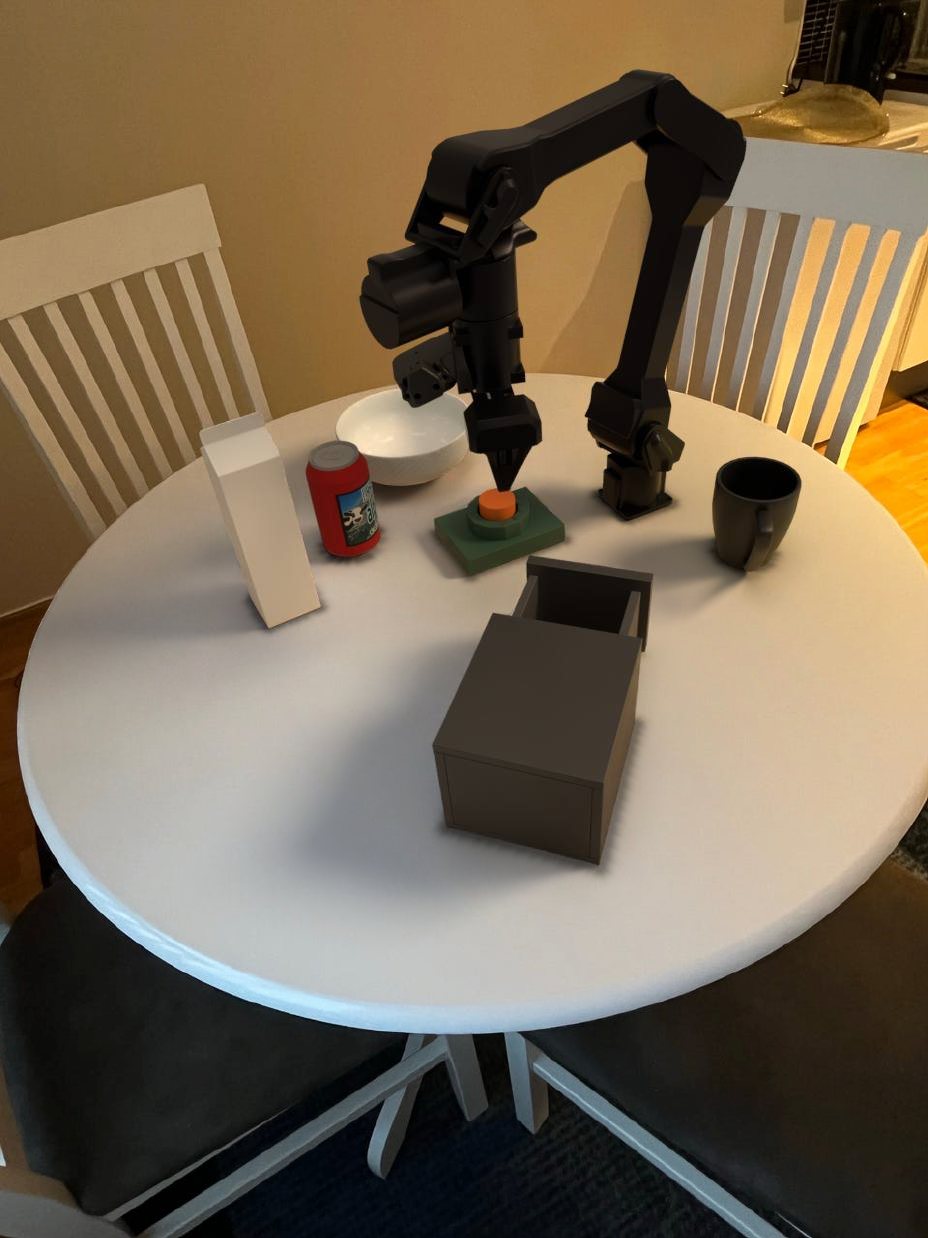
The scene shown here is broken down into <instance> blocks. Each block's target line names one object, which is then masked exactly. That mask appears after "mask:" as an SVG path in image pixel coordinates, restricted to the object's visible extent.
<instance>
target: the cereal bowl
mask: <svg viewBox="0 0 928 1238" xmlns="http://www.w3.org/2000/svg"><path fill="white" fill-rule="evenodd" d="M468 406H469V405H468V404H467V403H466V402H465V401H464V400H463V399H461V398H460V397H458V396H456V395H454V394H452V393H450V392H448V391H446V392H444V394H443V395H442V396H441V397H439V398H437V399H435V400H433V401H431V402H429V403H427V404H425V405H423V406H421V407H418V408H412V407H411V406H410V405H409V403H408V401H405V400H403V398H402V391H401V389H400V388H393V389H387V390H383V391H380V392H375V393H374V394H371V395H370V394H369V395H367V396H365V397H363V398H361V399H359V400H357V401H355V402H354V403H352V404H351V405H350V406H348V407H347V408H346V409H345V410H344V411H343V412H342V413H341V414H340V415H339V417H338V419H337V421H336V424H335V428H334V429H335V431H334V432H335V438H336V441H347V442H351V443H353V444H355V445H356V446H357V448H358V450H359V451H360V453H361V454H362V455H363V456H364V457H365V458H366V460H367V464H368V469H369V474H370V479H371V482H373V483H378V484H381V485H385V486H396V487H397V486H399V487H403V486H405V487H407V486H414V485H416V486H417V485H420V484H424V483H428V482H431V481H433V480H436V479H438V478H441V477H442V476H445V475H446V474H448V473H449V472H451V471H452V470H453V469H455V468H456V467H457V465H459V464H460V462H461V461H462V460H463V459H464V457H465V456H466V454H467V452H468V450H469V446H468V441H467V437H466V431H465V424H464V415H463V412H464V411H465V410H466V409H467V407H468Z"/></svg>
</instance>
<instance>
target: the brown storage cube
mask: <svg viewBox="0 0 928 1238" xmlns="http://www.w3.org/2000/svg"><path fill="white" fill-rule="evenodd" d="M641 649H642V638H638V637H632V636H626V635H620V634H615V633H609V632H603V631H597V630H591V629H586V628H580V627H574V626H568V625H562V624H557V623H551V622H545V621H539V620H533V619H527V618H522V617H516V616H512V615H509V614H504V613H498V612H492V613H491V616H490V618H489V620H488V622H487V623H486V626H485V629H484V630H483V633H482V635H481V637H480V639H479V642H478V644H477V646H476V648H475V650H474V652H473V655H472V657H471V659H470V661H469V664H468V665H467V668H466V670H465V672H464V674H463V677H462V679H461V681H460V683H459V685H458V687H457V690H456V692H455V694H454V695H453V698H452V699H451V702H450V705H449V707H448V709H447V711H446V713H445V716H444V718H443V720H442V721H441V724H440V727H439V728H438V731H437V733H436V736H435V738H434V740H433V742H432V751H433V757H434V763H435V764H434V765H435V769H436V776H437V781H438V787H439V794H440V800H441V804H442V810H443V817H444V822H445V826H446V827H448V828H452V829H457V830H459V831H463V832H467V833H472V834H476V835H480V836H482V837H483V836H484V837H488V838H492V839H495V840H500V841H503V842H507V843H510V844H511V843H512V844H515V845H519V846H523V847H527V848H531V849H534V850H538V851H543V852H546V853H550V854H554V855H557V856H562V857H566V858H569V859H573V860H577V861H582V862H585V863H589V864H594V865H597V866H599V865H600V864H601V860H602V856H603V853H604V849H605V844H606V841H607V836H608V832H609V828H610V825H611V822H612V821H611V820H612V816H613V812H614V808H615V804H616V800H617V797H618V792H619V788H620V785H621V784H620V783H621V780H622V777H623V773H624V769H625V764H626V760H627V757H628V752H629V748H630V744H631V740H632V736H633V733H634V732H633V731H634V729H635V723H636V713H637V704H638V691H639V680H640V669H641V659H642V658H641V657H642V652H641Z"/></svg>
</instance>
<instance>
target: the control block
mask: <svg viewBox="0 0 928 1238" xmlns="http://www.w3.org/2000/svg"><path fill="white" fill-rule="evenodd" d="M510 491H511V492H512V493H513V494H514V495H515V505H516V512H515V514H514V516H513V517H511V518H508V519H505V520H503V521H490V520H487V519H484V518H483V517H482V516H481V515H480V508H479V497H480V495H481V494H478V495H476V496H475V497H474V498H473V499H472V500H471V501H469V502H468V503H467V505H466V507H462V508H460V509H457V510H455V511H451V512H448V513H446V514H443V515H440V516H438V517H435V518H433V522H434V530H435V535H436V536H437V537H438V538H439V540H440V541H441V542H442V543H443V545H444V546H445V547H446V549H447V550H448V551H449V552H450V553H451V554H452V556H453V557H454V558H455V560H456V561H457V562H458V563H459V565H460V566H461V567H462V568H463V570H464V571H465V572H466V574H467V575H468V576H469V577H472V576H475V575H477V574H480V573H482V572H485V571H488V570H490V569H493V568H496V567H499V566H501V565H504V564H506V563H509V562H512V561H514V560H517V559H520V558H522V557H525V556H528V555H531V554H533V553H535V552H538V551H540V550H543V549H546V548H548V547H551V546H554V545H556V544H559V543H561V542H564V541H566V524H565V523H564V522H563V521H562V520H560V518H559V517H558V516H557V515H555V514H554V513H553V511H551V509H549V508H548V507H547V505H545V504H544V502H542V501H541V500H540V499H539V497H537V496H536V495H535V494H534V493H533V492H532V491H531V490H530V489H529V488H528V487H527V486H522V487H520V488H517V489H514V490H510Z"/></svg>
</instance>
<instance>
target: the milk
mask: <svg viewBox="0 0 928 1238" xmlns="http://www.w3.org/2000/svg"><path fill="white" fill-rule="evenodd" d="M198 434H199V438H200V442H201V444H202V445H201V447H199V450H200V453H201V457H202V459H203V462H204V465H205V468H206V471H207V474H208V477H209V479H210V483H211V485H212V489H213V492H214V494H215V498H216V500H217V504H218V506H219V509H220V511H221V515H222V519H223V521H224V523H225V527H226V530H227V533H228V535H229V538H230V541H231V544H232V547H233V550H234V553H235V555H236V559H237V562H238V565H239V568H240V569H241V574H242V576H243V580H244V582H245V585H246V587H247V588H246V589H247V591H248V594H249V597H250V599H251V601H252V603H253V604H254V606H255V607H256V610H257V611H258V613H259V614H260V616H261V619H262V620H263V621H264V623H265V624H266V627H267V628H268V629H271V628H272V629H273V628H274V627H276V626H278V625H281V624H284V623H286V622H288V621H291V620H293V619H296V618H298V617H301V616H303V615H305V614H308V613H310V612H313V611H315V610H318V609H320V608H321V607H322V606H321V602H320V598H319V595H318V592H317V587H316V583H315V580H314V577H313V571H312V568H311V564H310V561H309V558H308V557H309V556H308V553H307V550H306V546H305V542H304V539H303V536H302V535H303V534H302V532H301V527H300V524H299V520H298V516H297V512H296V509H295V505H294V500H293V497H292V494H291V489H290V486H289V483H288V478H287V475H286V471H285V467H284V463H283V460H282V459H283V458H282V455H281V453H280V451H279V449H278V447H277V446H276V443H275V441H274V439H273V438H272V436H271V433H270V431H269V429H268V428H267V426H266V421H265V418H264V415H263V413H262V412H261V411H255V412H252V413H249V414H246V415H242V416H239V417H237V418H234V419H230V420H228V421H224V422H222V423H218V424H215V425H212V426H209V427H206V428H202V429H201V430H200V431H199V432H198Z"/></svg>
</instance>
